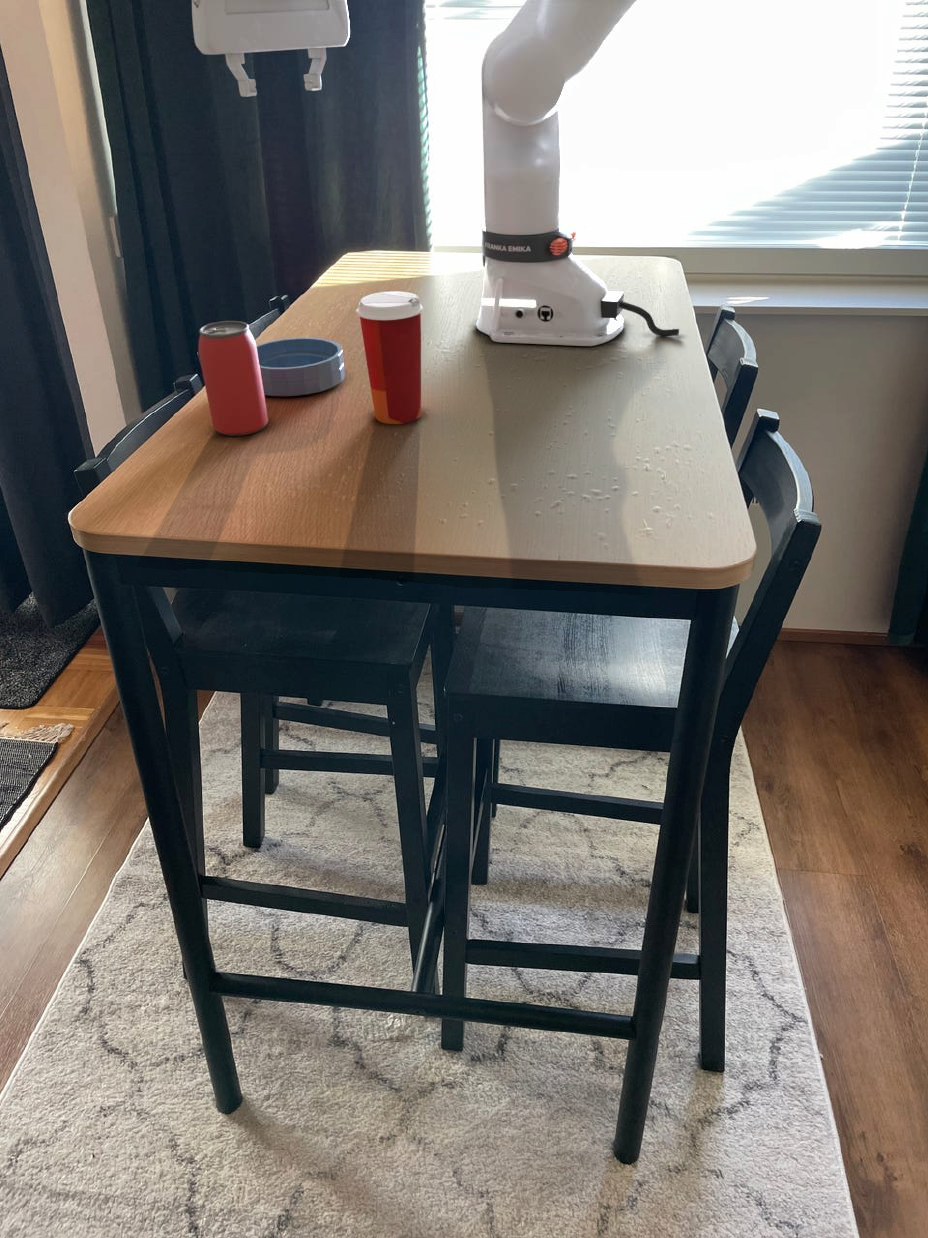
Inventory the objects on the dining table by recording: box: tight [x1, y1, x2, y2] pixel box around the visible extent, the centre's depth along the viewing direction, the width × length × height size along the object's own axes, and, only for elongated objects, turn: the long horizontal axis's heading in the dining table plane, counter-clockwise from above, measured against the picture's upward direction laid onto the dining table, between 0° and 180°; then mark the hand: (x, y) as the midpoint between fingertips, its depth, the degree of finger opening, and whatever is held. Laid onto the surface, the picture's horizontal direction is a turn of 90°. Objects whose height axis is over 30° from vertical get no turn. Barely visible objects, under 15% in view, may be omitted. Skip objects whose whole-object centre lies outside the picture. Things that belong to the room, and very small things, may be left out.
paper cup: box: [355, 290, 424, 425], centre depth 109 cm, size 8×8×14 cm
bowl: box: [256, 337, 346, 397], centre depth 124 cm, size 13×13×4 cm
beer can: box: [198, 320, 269, 437], centre depth 108 cm, size 7×7×12 cm
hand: (281, 92), depth 117 cm, fingers open, 8 cm apart
